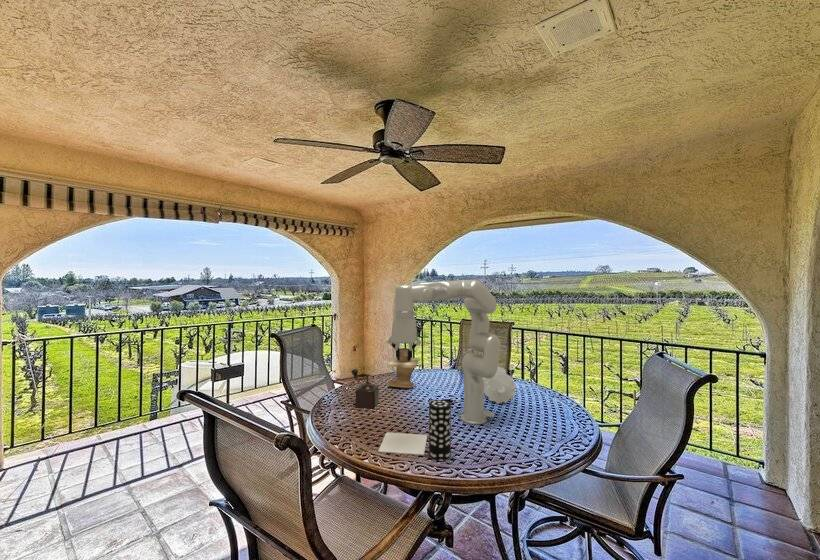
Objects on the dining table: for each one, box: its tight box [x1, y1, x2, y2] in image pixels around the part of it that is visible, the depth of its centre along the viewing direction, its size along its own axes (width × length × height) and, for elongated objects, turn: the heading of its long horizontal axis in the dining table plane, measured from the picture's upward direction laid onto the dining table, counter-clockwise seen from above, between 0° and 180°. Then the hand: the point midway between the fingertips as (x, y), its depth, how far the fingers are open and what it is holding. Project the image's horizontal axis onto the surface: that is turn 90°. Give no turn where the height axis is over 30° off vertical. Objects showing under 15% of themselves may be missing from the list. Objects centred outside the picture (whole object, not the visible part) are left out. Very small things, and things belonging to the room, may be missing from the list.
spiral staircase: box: [483, 365, 517, 405], centre depth 192 cm, size 18×18×25 cm
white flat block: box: [377, 432, 428, 456], centre depth 139 cm, size 18×16×1 cm
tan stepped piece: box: [387, 367, 414, 389], centre depth 211 cm, size 15×12×15 cm
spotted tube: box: [428, 399, 452, 462], centre depth 130 cm, size 8×8×20 cm
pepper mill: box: [351, 368, 380, 410], centre depth 182 cm, size 16×11×18 cm
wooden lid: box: [387, 347, 420, 369], centre depth 139 cm, size 11×11×6 cm
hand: (404, 359), depth 139 cm, fingers closed on wooden lid, 4 cm apart
